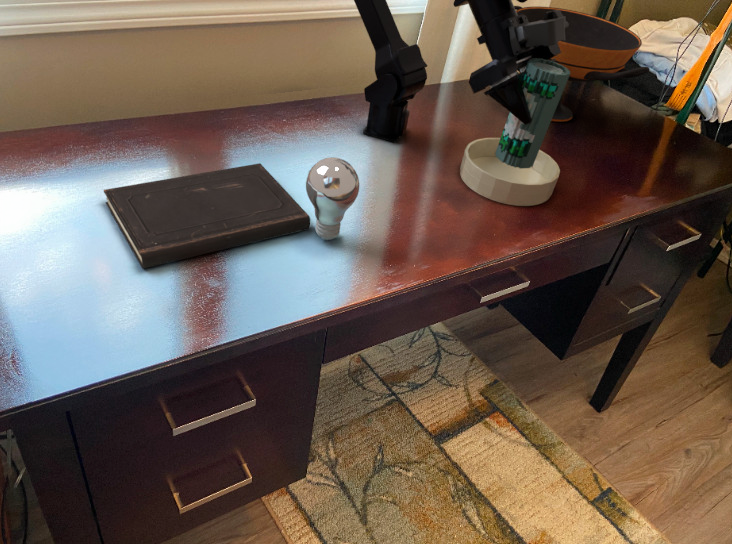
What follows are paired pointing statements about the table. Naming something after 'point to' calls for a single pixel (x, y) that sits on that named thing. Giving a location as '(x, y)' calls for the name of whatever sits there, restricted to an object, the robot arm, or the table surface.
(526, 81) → the can
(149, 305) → the table surface
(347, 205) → the light bulb
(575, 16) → the footed terracotta bowl
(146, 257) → the hardcover book
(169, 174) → the table surface
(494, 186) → the pan
